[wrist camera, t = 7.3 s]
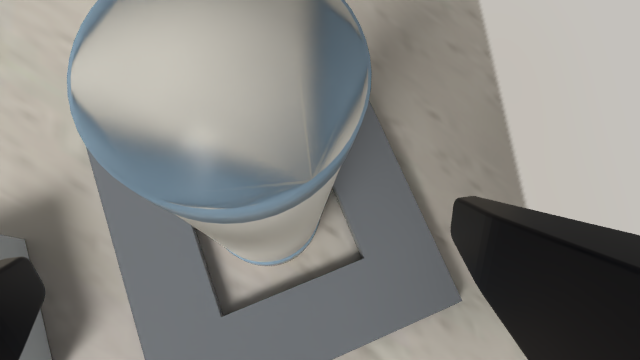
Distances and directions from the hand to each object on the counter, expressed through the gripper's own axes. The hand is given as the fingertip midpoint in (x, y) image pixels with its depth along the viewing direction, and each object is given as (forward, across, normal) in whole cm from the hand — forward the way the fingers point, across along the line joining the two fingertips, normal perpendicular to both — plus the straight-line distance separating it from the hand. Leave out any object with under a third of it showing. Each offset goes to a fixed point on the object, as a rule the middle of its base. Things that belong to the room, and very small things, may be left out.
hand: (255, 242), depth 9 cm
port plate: (+9, 0, -6) cm, 11 cm away
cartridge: (+9, 0, -6) cm, 11 cm away
